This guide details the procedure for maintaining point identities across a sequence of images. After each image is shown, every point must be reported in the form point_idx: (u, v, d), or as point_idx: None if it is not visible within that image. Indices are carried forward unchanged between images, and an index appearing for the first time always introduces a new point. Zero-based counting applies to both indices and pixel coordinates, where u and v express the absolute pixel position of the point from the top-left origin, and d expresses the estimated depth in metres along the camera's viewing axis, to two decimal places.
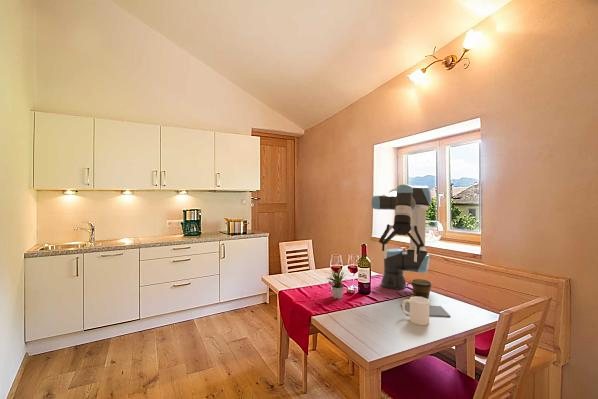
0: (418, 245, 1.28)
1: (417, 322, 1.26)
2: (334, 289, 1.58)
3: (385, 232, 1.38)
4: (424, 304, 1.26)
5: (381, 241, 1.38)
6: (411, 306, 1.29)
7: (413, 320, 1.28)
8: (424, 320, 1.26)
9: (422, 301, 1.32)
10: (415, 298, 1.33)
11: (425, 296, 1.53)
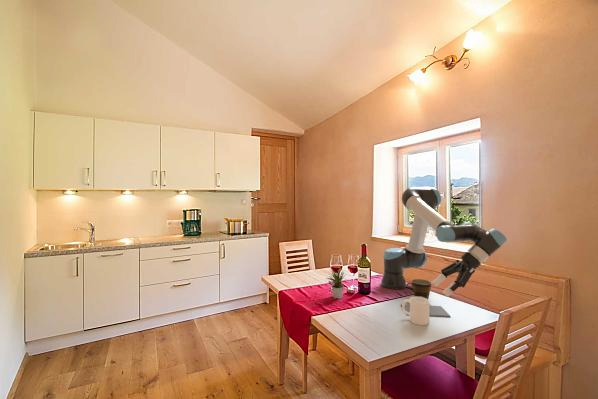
0: (446, 276, 1.37)
1: (417, 322, 1.26)
2: (334, 289, 1.58)
3: (468, 277, 1.21)
4: (424, 304, 1.26)
5: None
6: (411, 306, 1.29)
7: (413, 320, 1.28)
8: (424, 320, 1.26)
9: (422, 301, 1.32)
10: (415, 298, 1.33)
11: (425, 296, 1.53)
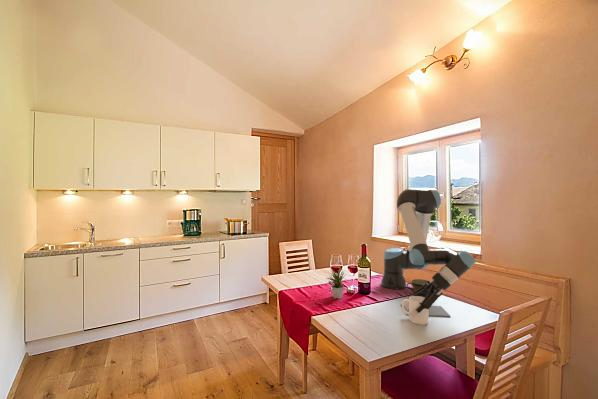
0: None
1: (416, 321, 1.27)
2: (334, 289, 1.58)
3: None
4: None
5: None
6: (410, 305, 1.29)
7: (412, 319, 1.28)
8: (423, 320, 1.26)
9: None
10: (415, 298, 1.34)
11: (425, 296, 1.53)
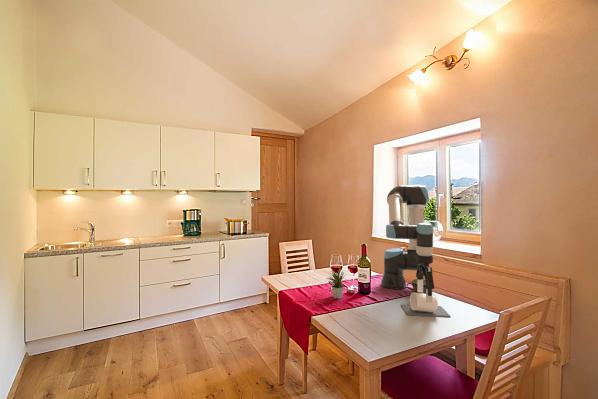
0: None
1: (433, 311, 1.36)
2: (334, 289, 1.58)
3: None
4: (418, 305, 1.35)
5: None
6: None
7: None
8: (433, 307, 1.35)
9: None
10: (412, 297, 1.42)
11: None
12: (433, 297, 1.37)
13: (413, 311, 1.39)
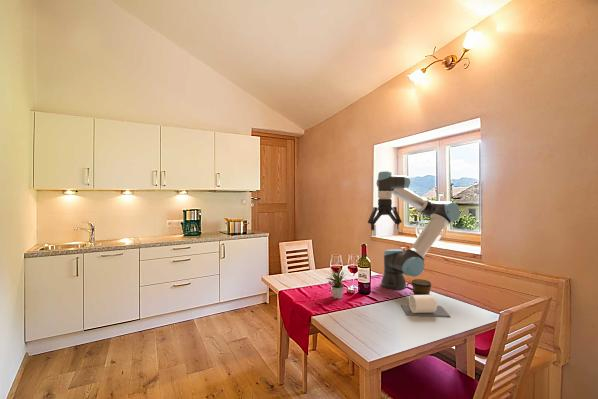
0: (399, 223, 1.62)
1: (433, 312, 1.36)
2: (334, 289, 1.58)
3: (374, 214, 1.59)
4: (417, 308, 1.34)
5: None
6: None
7: None
8: (432, 309, 1.35)
9: None
10: (411, 298, 1.42)
11: None
12: (432, 298, 1.36)
13: None
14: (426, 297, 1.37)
